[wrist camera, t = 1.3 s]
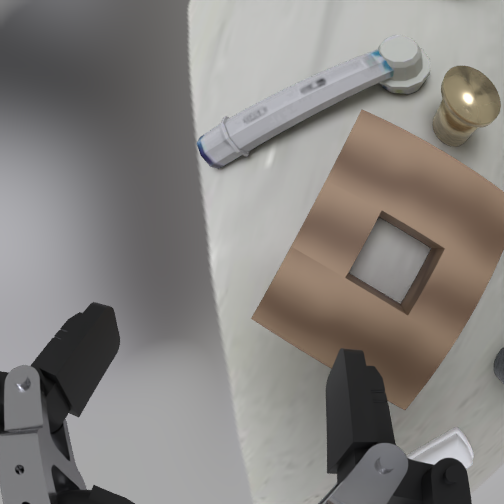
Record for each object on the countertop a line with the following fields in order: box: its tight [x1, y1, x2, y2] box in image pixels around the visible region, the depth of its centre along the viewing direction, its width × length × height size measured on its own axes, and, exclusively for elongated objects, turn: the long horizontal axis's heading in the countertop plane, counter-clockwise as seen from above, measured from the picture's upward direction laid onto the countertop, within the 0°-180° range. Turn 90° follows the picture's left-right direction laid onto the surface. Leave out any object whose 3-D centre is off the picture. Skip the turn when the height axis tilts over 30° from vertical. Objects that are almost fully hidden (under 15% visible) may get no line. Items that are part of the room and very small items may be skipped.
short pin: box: [433, 66, 501, 146], centre depth 20 cm, size 5×5×8 cm
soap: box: [407, 427, 474, 469], centre depth 23 cm, size 9×7×3 cm
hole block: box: [251, 110, 504, 410], centre depth 24 cm, size 20×16×5 cm
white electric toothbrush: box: [197, 35, 430, 169], centre depth 26 cm, size 5×7×25 cm
